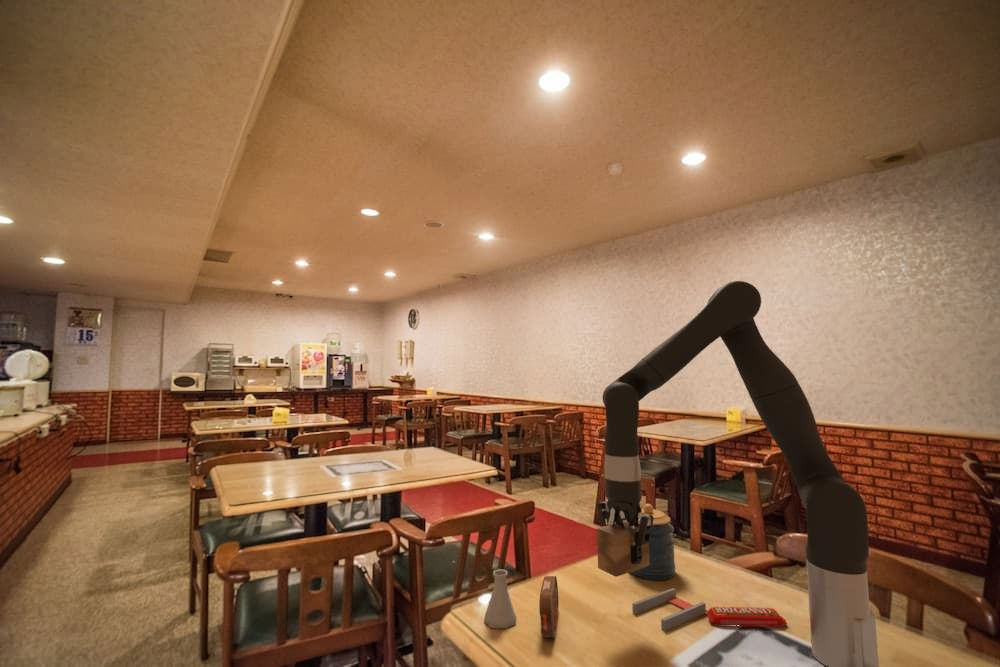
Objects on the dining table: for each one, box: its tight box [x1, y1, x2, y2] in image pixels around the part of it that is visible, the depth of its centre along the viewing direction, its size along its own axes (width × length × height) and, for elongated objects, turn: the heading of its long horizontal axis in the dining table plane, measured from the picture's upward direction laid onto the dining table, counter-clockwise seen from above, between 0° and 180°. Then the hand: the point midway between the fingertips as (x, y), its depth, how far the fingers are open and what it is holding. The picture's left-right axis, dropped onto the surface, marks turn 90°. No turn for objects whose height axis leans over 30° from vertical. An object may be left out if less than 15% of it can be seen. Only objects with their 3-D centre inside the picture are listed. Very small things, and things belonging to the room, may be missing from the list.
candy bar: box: [705, 606, 788, 628], centre depth 96 cm, size 16×4×3 cm, turn 88°
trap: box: [667, 596, 695, 610], centre depth 103 cm, size 6×3×1 cm, turn 32°
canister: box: [629, 503, 676, 581], centre depth 123 cm, size 13×13×18 cm
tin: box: [538, 575, 560, 639], centre depth 95 cm, size 15×3×8 cm, turn 168°
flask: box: [483, 568, 517, 629], centre depth 97 cm, size 7×7×10 cm
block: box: [596, 524, 650, 578], centre depth 94 cm, size 5×10×8 cm, turn 122°
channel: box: [631, 587, 707, 632], centre depth 100 cm, size 9×14×2 cm, turn 122°
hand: (625, 558), depth 94 cm, fingers closed on block, 5 cm apart
